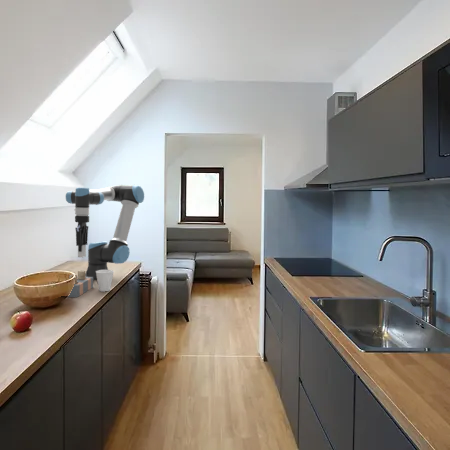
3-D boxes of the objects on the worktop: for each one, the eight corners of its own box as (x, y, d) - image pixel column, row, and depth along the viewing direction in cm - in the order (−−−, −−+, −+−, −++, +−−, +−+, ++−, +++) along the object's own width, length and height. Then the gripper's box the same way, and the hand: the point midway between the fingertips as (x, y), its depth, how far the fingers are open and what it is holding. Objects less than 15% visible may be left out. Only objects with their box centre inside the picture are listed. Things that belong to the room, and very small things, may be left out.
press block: (77, 286, 235) (77, 276, 234) (93, 287, 235) (93, 277, 234) (59, 296, 211) (59, 285, 210) (76, 297, 211) (77, 285, 210)
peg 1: (70, 285, 219) (71, 274, 218) (78, 285, 218) (78, 274, 218) (67, 287, 215) (67, 276, 214) (75, 287, 214) (75, 276, 214)
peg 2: (79, 281, 230) (79, 270, 230) (86, 281, 230) (86, 270, 230) (76, 282, 226) (76, 271, 226) (83, 282, 226) (83, 272, 226)
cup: (99, 293, 220) (99, 273, 220) (92, 289, 228) (92, 270, 227) (116, 291, 227) (116, 271, 226) (109, 287, 234) (109, 269, 234)
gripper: (81, 214, 234) (80, 254, 236) (69, 215, 218) (69, 258, 220) (93, 214, 234) (93, 255, 235) (83, 216, 218) (83, 259, 219)
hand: (81, 256), depth 228 cm, fingers open, 3 cm apart
